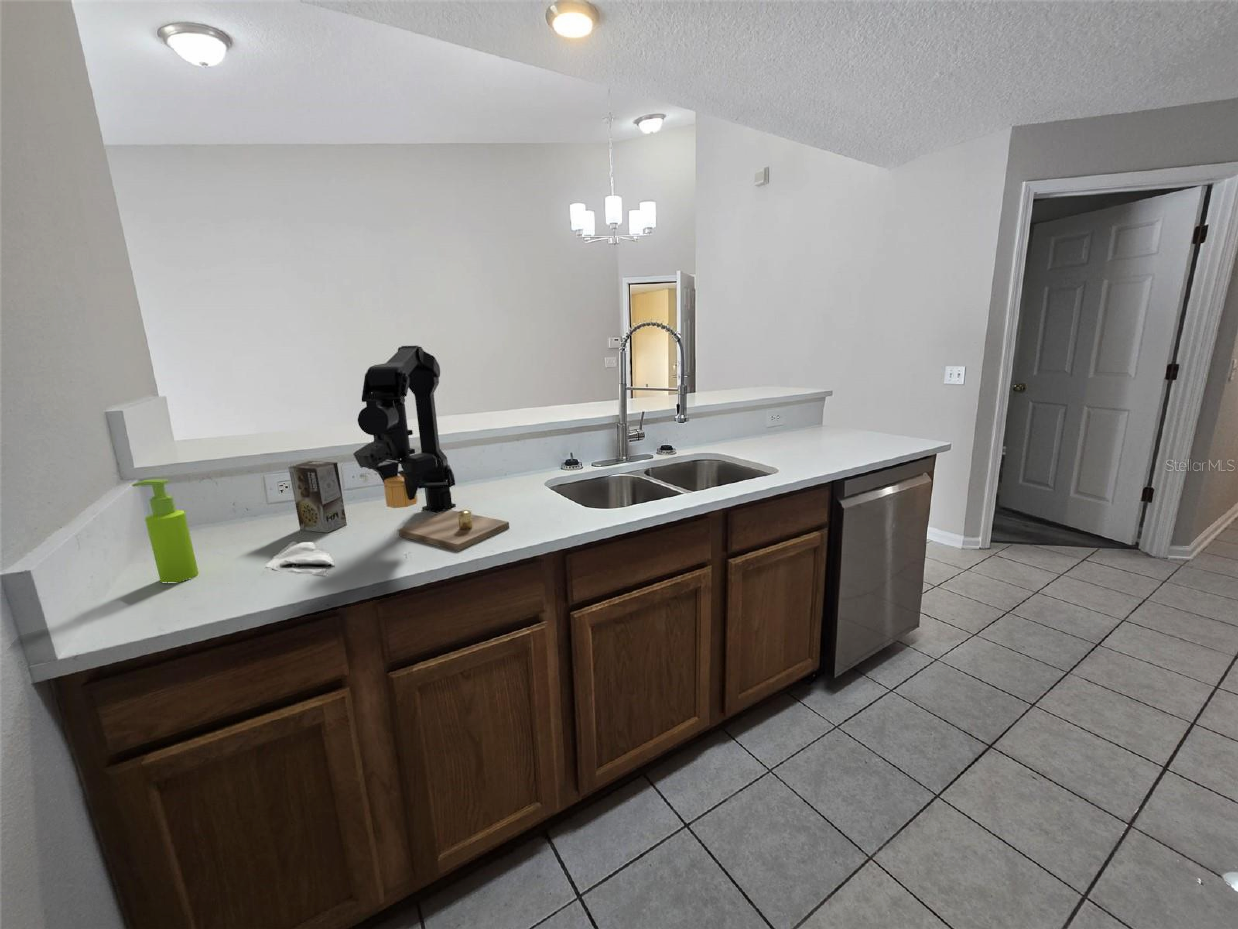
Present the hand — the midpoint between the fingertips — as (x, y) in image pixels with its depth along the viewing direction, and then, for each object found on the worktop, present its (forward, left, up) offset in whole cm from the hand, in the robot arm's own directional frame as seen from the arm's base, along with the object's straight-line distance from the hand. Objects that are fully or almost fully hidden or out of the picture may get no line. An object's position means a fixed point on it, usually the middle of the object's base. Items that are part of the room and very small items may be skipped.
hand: (401, 497), depth 116 cm
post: (+6, +11, -10) cm, 16 cm away
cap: (0, 0, -1) cm, 1 cm away
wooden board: (+2, +11, -11) cm, 16 cm away
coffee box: (-30, -2, -12) cm, 32 cm away
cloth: (-14, -15, -12) cm, 24 cm away
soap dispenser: (-28, -33, -12) cm, 44 cm away
